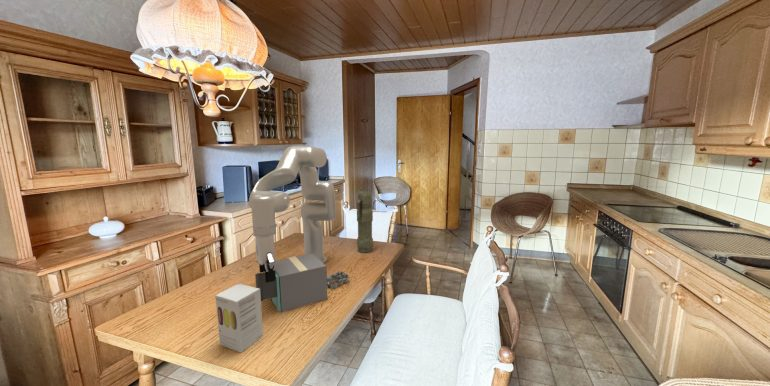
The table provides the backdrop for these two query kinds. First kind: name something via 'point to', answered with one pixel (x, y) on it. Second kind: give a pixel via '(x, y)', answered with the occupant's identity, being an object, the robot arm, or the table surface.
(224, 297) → the supplement box
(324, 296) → the carton
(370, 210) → the thermos
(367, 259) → the table surface
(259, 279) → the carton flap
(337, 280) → the egg carton
